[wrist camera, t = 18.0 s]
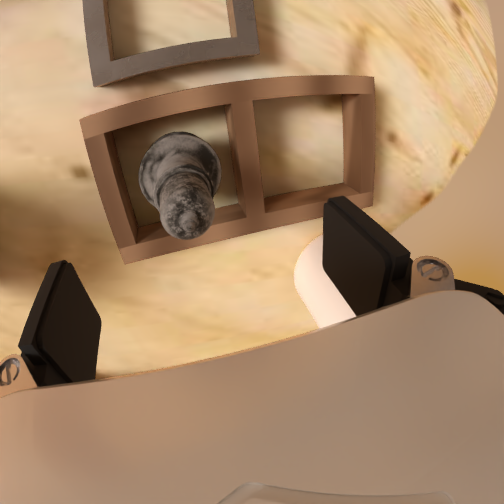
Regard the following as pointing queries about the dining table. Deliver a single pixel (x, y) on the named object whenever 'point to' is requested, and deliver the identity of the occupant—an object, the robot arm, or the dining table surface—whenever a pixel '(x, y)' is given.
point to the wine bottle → (319, 287)
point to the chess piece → (181, 183)
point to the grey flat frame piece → (169, 57)
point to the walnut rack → (235, 159)
